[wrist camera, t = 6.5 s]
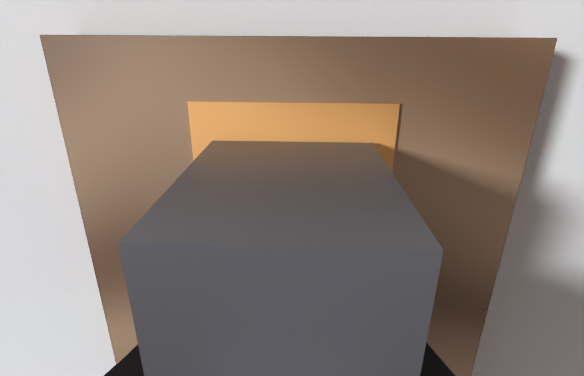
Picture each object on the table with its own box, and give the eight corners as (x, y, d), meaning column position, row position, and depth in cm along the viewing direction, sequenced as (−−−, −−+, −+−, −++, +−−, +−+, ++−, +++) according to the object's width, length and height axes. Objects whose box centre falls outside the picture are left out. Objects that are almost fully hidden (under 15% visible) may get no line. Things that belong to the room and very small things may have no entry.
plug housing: (349, 400, 12) (375, 615, 8) (232, 396, 13) (189, 605, 8) (372, 142, 9) (443, 249, 4) (212, 140, 9) (118, 243, 5)
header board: (438, 408, 15) (498, 574, 10) (148, 398, 15) (80, 554, 11) (521, 38, 10) (718, 36, 5) (76, 35, 10) (-120, 31, 5)
